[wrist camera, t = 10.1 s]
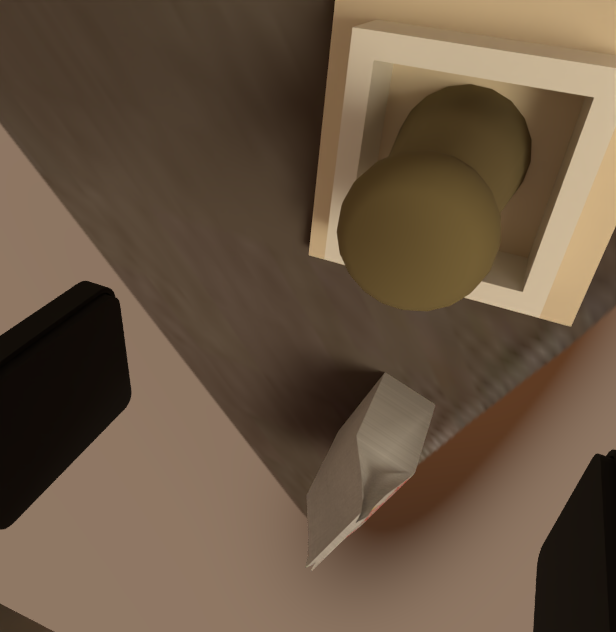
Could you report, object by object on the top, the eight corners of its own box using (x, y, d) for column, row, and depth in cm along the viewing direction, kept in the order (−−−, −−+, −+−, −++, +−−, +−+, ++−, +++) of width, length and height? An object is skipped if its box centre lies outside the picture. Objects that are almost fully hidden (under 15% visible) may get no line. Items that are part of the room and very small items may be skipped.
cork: (490, 237, 27) (452, 370, 18) (377, 186, 28) (289, 289, 19) (560, 117, 23) (554, 210, 14) (427, 61, 24) (346, 119, 15)
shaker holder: (347, -42, 24) (308, -42, 20) (708, 2, 20) (737, 11, 17) (315, 247, 32) (283, 283, 28) (571, 316, 28) (570, 367, 25)
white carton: (338, 431, 39) (279, 550, 31) (384, 372, 35) (330, 492, 27) (382, 460, 39) (335, 588, 31) (435, 404, 34) (395, 535, 27)
